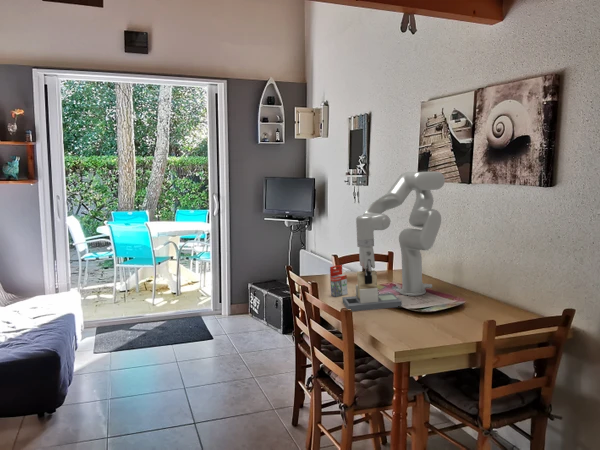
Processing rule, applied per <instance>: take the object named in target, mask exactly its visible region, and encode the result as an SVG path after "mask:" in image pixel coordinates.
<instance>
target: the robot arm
mask: <svg viewBox="0 0 600 450" xmlns="http://www.w3.org/2000/svg"><path fill="white" fill-rule="evenodd" d="M445 182H446V179H445V176H444V174H443V173H442V172H440V171H407V172H403V173H401V174H400V175H399V176H398V178H397V179H396V180H395V182H394V183H393V184H392V186H391V187H390V189H389V190H388V191H387V192H386V193H385V194H384V195H382V196H380V197H379V198H377V199H376V200H375V201H374V202H372V203H371V204H370V205H369V206H368V207H367V208H366V209H365V211H364V212H363V215H358V216H357V217H356V218H355V221H356V222H355V223H356V224H355V225H356V227H355V228H356V243H357V244H356V246H357V247H358V248H359V251H358V252H359V254H358V255H359V256H358V257H359V266H361V271H365V284H372V270H373V269H375V267H376V263H375V251H374V247H375V236H374V235H375V234H374V231H384V230H385V231H386V230H387V229H388V228H389V227H390V226H391V219H390V216H389V215H388V214H385V213H384V212H387V211H389V210H392V209H395V208H398V207H399V206H401V205H402V204H403V203H404V202H405V200H407V197H408V196H409V194H411V192H412V191H415V195H416V196H415V197H416V198H415V200H414V204H413V206H412V209H411V212H410V214H409V218H408V222H409V225H410V226H412V227H413V228H405V229H402V230H401V231H400V233H399V236H398V243H399V247H400V248H399V249H400V253H401V279H402V280H401V282H402V287H401V288H399V291H398V292H399V294H400V295H402V296H407V295H408V296H407V297H409V296H411V297H415V296H416V297H418V296H423V295H425V294H426V292H427V291H426V289H432V288H433V284H432V283H423V267H422V266H423V265H422V264H423V259H422V253H421V251H429V250H431V248H432V247H433V246H434V245H435V241H436V238H437V236H438V233H439V230H440V228H441V225H442V215H441V213H440V212H439V210H437V209H435V208H433V205H434V201H435V200H434V196H433V193H432V191H434V190H441V188H443V187H444V185H445ZM418 228H419V229H418Z"/></svg>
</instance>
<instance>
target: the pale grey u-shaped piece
mask: <svg viewBox="0 0 600 450" xmlns="http://www.w3.org/2000/svg"><path fill="white" fill-rule="evenodd" d="M359 291H360V303H371V302H378V294H379V288H378V287H377V288H368V289H359ZM355 296H356V298H359V297H358V284H355Z"/></svg>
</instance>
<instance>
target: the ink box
mask: <svg viewBox="0 0 600 450" xmlns="http://www.w3.org/2000/svg"><path fill="white" fill-rule="evenodd" d="M329 274H330V275H329V278H330V279H329V280H330V295H331V296H332V297H333V298H337V297H342V296H344V295H348V293H349V292H348V275H347V274H344V273H343V264H337V265H333V266H330V267H329Z"/></svg>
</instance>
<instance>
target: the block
mask: <svg viewBox="0 0 600 450" xmlns="http://www.w3.org/2000/svg"><path fill="white" fill-rule="evenodd" d="M356 277H357V285H358V297H359V299H360V291H359V289H368V288H378V274H377V271H376V270H375V269H372V284H365V271H362V270H361V271H357V272H356Z"/></svg>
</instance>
